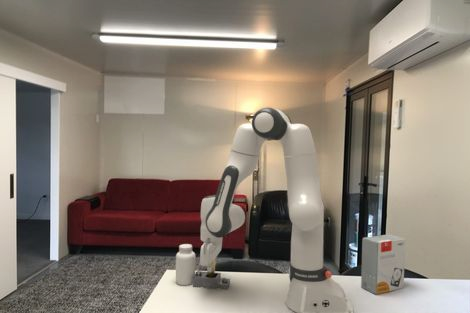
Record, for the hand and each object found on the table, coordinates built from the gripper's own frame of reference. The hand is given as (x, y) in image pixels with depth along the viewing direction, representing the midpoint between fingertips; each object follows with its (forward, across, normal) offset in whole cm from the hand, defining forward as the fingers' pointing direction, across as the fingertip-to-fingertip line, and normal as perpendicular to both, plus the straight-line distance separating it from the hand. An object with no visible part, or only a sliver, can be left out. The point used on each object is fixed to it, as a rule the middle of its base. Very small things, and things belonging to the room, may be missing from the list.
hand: (211, 269), depth 126 cm
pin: (+4, 0, 0) cm, 4 cm away
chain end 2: (+6, 0, -2) cm, 7 cm away
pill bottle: (+7, +1, +11) cm, 13 cm away
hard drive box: (+6, +11, -67) cm, 68 cm away
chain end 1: (+6, 0, +2) cm, 7 cm away
